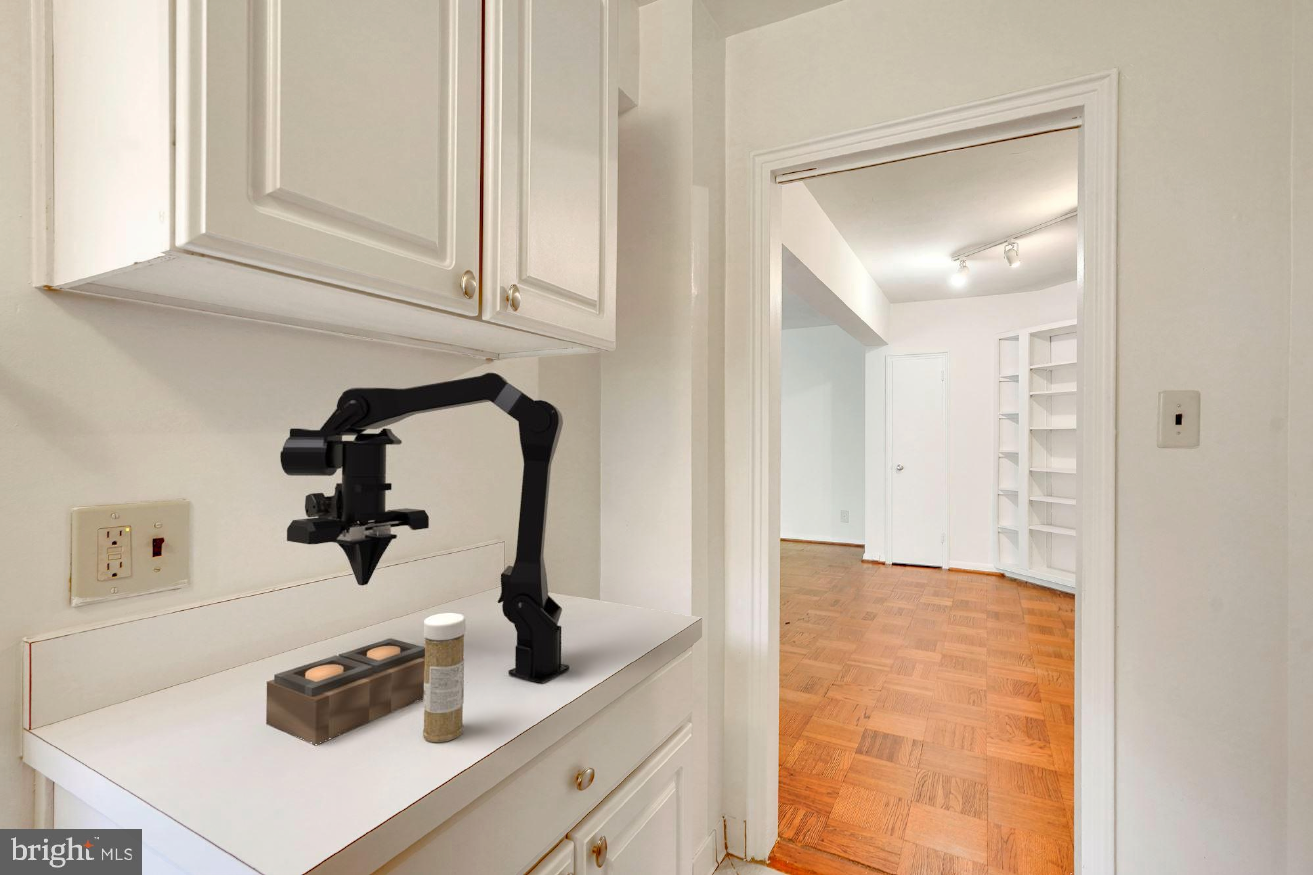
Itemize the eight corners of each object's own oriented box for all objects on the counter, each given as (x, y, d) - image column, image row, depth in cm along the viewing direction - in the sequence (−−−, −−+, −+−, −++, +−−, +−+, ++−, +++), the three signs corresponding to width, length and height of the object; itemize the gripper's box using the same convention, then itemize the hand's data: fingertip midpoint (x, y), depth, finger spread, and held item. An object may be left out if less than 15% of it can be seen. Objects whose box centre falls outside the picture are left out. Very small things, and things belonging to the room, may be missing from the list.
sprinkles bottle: (428, 725, 72) (430, 612, 72) (468, 724, 72) (469, 611, 72) (417, 745, 67) (418, 623, 67) (459, 743, 67) (460, 622, 68)
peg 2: (386, 688, 82) (387, 644, 82) (406, 694, 80) (406, 649, 80) (359, 698, 79) (360, 652, 79) (379, 705, 77) (379, 658, 77)
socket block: (385, 678, 86) (386, 636, 86) (433, 693, 81) (434, 648, 81) (266, 723, 72) (266, 673, 72) (315, 745, 67) (316, 691, 67)
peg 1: (330, 710, 75) (330, 662, 75) (349, 717, 73) (350, 668, 73) (297, 723, 72) (298, 672, 72) (317, 731, 70) (318, 679, 70)
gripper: (385, 472, 99) (384, 567, 99) (265, 477, 83) (263, 591, 83) (431, 474, 93) (430, 575, 93) (312, 480, 77) (310, 602, 77)
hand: (362, 584), depth 87 cm, fingers closed
